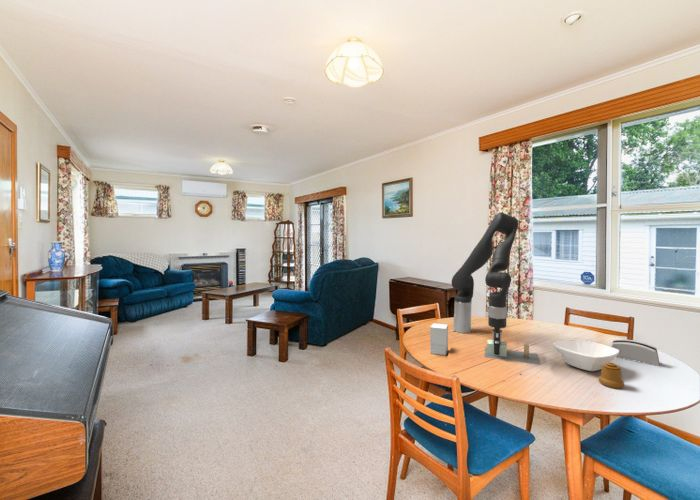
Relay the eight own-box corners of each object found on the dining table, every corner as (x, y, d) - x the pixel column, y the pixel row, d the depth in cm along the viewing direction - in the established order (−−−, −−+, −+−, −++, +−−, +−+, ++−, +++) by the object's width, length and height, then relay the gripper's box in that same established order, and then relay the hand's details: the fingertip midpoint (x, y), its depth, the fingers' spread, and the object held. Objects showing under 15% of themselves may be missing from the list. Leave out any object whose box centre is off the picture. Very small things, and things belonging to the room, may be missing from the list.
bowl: (598, 381, 128) (599, 359, 127) (545, 363, 146) (545, 343, 146) (626, 371, 137) (627, 350, 137) (573, 354, 156) (573, 336, 155)
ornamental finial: (596, 384, 125) (601, 378, 130) (621, 391, 120) (625, 385, 125) (596, 363, 125) (602, 358, 130) (622, 369, 119) (626, 364, 124)
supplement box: (448, 350, 162) (448, 324, 161) (445, 355, 155) (446, 328, 154) (432, 348, 165) (433, 322, 164) (429, 353, 158) (429, 326, 157)
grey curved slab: (659, 362, 146) (660, 343, 143) (658, 369, 143) (659, 349, 140) (611, 352, 158) (611, 334, 155) (609, 358, 155) (609, 340, 152)
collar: (486, 354, 152) (487, 343, 152) (487, 350, 158) (487, 339, 157) (506, 356, 149) (506, 345, 149) (506, 352, 154) (506, 341, 154)
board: (484, 360, 149) (484, 343, 149) (485, 350, 162) (485, 334, 161) (541, 368, 140) (541, 350, 140) (537, 356, 153) (537, 340, 153)
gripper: (488, 311, 161) (488, 345, 161) (488, 318, 147) (487, 355, 148) (506, 313, 158) (505, 347, 158) (506, 320, 144) (506, 358, 145)
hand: (496, 351), depth 153 cm, fingers open, 7 cm apart
